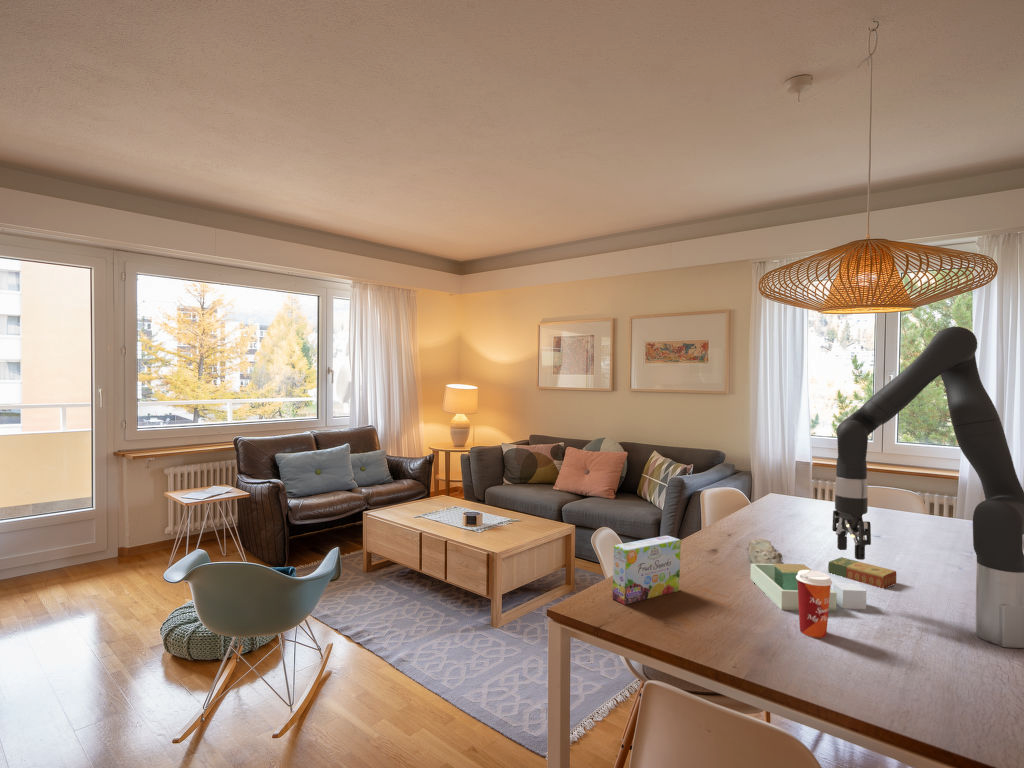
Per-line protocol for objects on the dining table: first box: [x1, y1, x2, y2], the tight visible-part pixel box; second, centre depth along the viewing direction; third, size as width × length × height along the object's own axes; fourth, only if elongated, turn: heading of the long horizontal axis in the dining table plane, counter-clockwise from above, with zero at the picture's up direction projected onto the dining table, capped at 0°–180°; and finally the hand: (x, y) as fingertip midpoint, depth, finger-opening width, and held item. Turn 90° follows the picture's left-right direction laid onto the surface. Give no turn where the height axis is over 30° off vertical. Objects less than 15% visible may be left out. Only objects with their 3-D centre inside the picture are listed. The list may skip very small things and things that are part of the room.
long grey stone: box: [746, 538, 783, 564], centre depth 189 cm, size 35×5×10 cm
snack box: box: [612, 535, 682, 606], centre depth 156 cm, size 21×6×15 cm, turn 122°
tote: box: [749, 563, 837, 613], centre depth 158 cm, size 22×14×5 cm, turn 177°
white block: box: [832, 582, 867, 610], centre depth 151 cm, size 5×6×5 cm
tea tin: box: [774, 563, 812, 590], centre depth 157 cm, size 6×8×7 cm
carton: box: [827, 556, 897, 589], centre depth 172 cm, size 8×16×4 cm, turn 33°
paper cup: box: [796, 569, 833, 639], centre depth 134 cm, size 8×8×14 cm
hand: (850, 554), depth 151 cm, fingers open, 8 cm apart
